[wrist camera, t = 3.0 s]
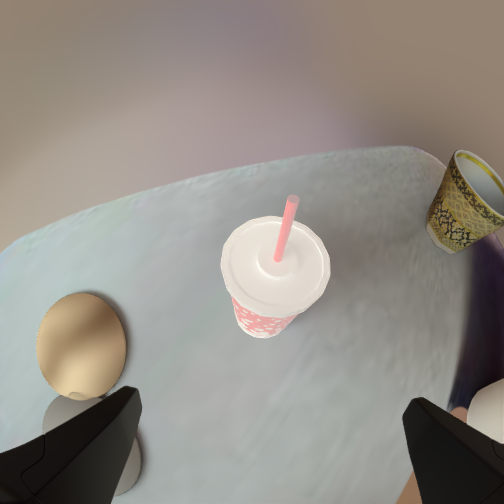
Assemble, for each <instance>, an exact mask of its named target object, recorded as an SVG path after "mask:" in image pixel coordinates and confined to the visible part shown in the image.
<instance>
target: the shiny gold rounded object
mask: <svg viewBox="0 0 504 504" xmlns="http://www.w3.org/2000/svg"><path fill="white" fill-rule="evenodd" d="M37 358H38V363H39V366H40V369H41V371H42V374H43V376H44V377H45V379H46V381H47V382H48V383H49V385H50V386H51V387H52V388H53V389H54V390H55V391H57V392H58V393H59V394H61V395H62V396H64V397H69V398H70V399H71V398H72V399H73V400H81V401H83V400H86V399H87V400H88V399H89V398H90V399H92V398H93V397H94V398H95V397H101V396H103V395H104V394H106V393H107V392H108V391H109V390H110V389H111V388H112V387H113V386H114V385H115V384H116V382H117V381H118V379H119V377H120V375H121V373H122V370H123V367H124V364H125V358H126V338H125V333H124V329H123V326H122V324H121V321H120V319H119V318H118V316H117V314H116V313H115V312H114V310H113V309H112V308H111V307H110V306H109V305H108V304H107V303H106V302H104V301H103V300H102V299H100V298H98V297H96V296H94V295H91V294H86V293H76V294H71V295H68V296H66V297H63V298H62V299H60V300H59V301H57V302H56V303H55V304H54V305H53V306H52V307H51V308H50V309H49V310H48V312H47V313H46V315H45V316H44V318H43V320H42V322H41V325H40V328H39V331H38V336H37ZM72 392H73V393H72ZM74 392H75V393H76V394H75V393H74ZM82 392H83V393H82ZM70 393H71V395H70ZM80 394H82V395H81V396H82V397H81V396H80ZM87 394H88V395H87ZM75 396H76V397H75ZM80 397H81V398H80ZM84 397H86V398H84ZM83 398H84V399H83Z"/></svg>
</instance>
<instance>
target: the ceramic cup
mask: <svg viewBox="0 0 504 504" xmlns="http://www.w3.org/2000/svg"><path fill="white" fill-rule="evenodd" d="M503 226H504V182H503V181H502V180H501V178H500V177H499V176H498V174H497V173H496V172H495V171H494V170H493V169H492V168H491V167H490V166H489V165H488V164H487V163H486V162H485V161H483V160H482V159H481V158H480V157H478V156H477V155H475V154H473V153H471V152H469V151H466V150H463V149H459V150H456V151H455V152H454V154H453V156H452V158H451V160H450V162H449V165H448V167H447V170H446V172H445V175H444V177H443V180H442V183H441V185H440V187H439V189H438V192H437V194H436V196H435V198H434V200H433V202H432V204H431V206H430V208H429V210H428V213H427V220H426V230H427V232H428V234H429V235H430V237H431V239H432V240H433V242H434V244H435V245H436V246H437V247H439V248H441V249H442V250H444V251H445V252H447V253H449V254H455V253H457V252H459V251H461V250H463V249H465V248H467V247H468V246H470V245H471V244H473V243H475V242H476V241H478V240H480V239H481V238H483V237H484V236H486V235H488V234H490V233H493V232H495V231H497V230H498V229H500V228H501V227H503Z"/></svg>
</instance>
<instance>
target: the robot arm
mask: <svg viewBox="0 0 504 504" xmlns="http://www.w3.org/2000/svg"><path fill="white" fill-rule="evenodd" d="M141 412H142V403H141V399H140V394H139V391H138V389H137V388H134V387H130V386H124V387H122V388H120V389H119V390H117V391H116V392H114V393H112V394H111V395H109V396H108V397H106V398H104V399H103V400H101V401H99V402H98V403H96V404H94V405H93V406H91V407H90V408H88V409H86V410H84V411H83V412H81V413H79V414H78V415H76V416H74V417H73V418H71V419H69V420H67V421H66V422H64V423H62V424H61V425H59V426H57V427H55V428H53V429H52V430H50V431H48V432H46V433H45V434H43V435H41V436H39V437H37V438H35V439H33V440H31V441H29V442H27V443H25V444H23V445H21V446H18V447H16V448H13V449H11V450H8V451H5V452H2V453H0V504H111V502H112V499H113V496H114V494H115V491H116V488H117V486H118V483H119V481H120V478H121V475H122V473H123V470H124V468H125V465H126V463H127V460H128V458H129V455H130V452H131V450H132V446H133V443H134V439H135V435H136V431H137V427H138V423H139V420H140V416H141ZM402 420H403V425H404V430H405V435H406V440H407V446H408V451H409V455H410V459H411V462H412V466H413V469H414V473H415V476H416V480H417V484H418V487H419V491H420V496H421V500H422V504H504V445H503V444H501V443H499V442H497V441H495V440H494V439H491V438H490V437H488V436H487V435H485V434H483V433H481V432H480V431H478V430H476V429H475V428H473V427H471V426H470V425H468V424H466V423H464V422H463V421H461V420H459V419H458V418H456V417H454V416H453V415H451V414H450V413H448V412H446V411H445V410H443V409H441V408H440V407H438V406H436V405H435V404H433V403H432V402H430V401H428V400H427V399H425V398H423V397H419V398H414V399H412V400H411V401H410V403H409V405H408V407H407V408H406V410H405V412H404V414H403V417H402Z"/></svg>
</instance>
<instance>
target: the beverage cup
mask: <svg viewBox="0 0 504 504" xmlns="http://www.w3.org/2000/svg"><path fill="white" fill-rule="evenodd" d="M298 203H299V197H298V196H296V195H289V196H288V198H287V203H286V207H285V211H284V215H283V217H276V216H266V217H261V218H257V219H252V220H249V221H248V222H246V223H245V224H243V225H241V226H240V227H238V228H237V229H235V230H234V231H233V233H232V234H231V236H230V237H229V238H228V240H227V241H226V243H225V244H224V247H223V252H222V258H221V269H222V274H223V277H224V281H225V284H226V287H227V290H228V291H229V293H230V294H231V297H232V301H233V306H234V311H235V315H236V318H237V321H238V324H239V325H240V327H241V328H242V329H243V330H244V331H245V332H246V333H248V334H250V335H252V336H254V337H258V338H268V337H272V336H275V335H277V334H278V333H280V332H281V331H282V330H283V329H284V328H285V327H286V326H287V325H288V324H289V323H290V322H291V321H292V320H293V319H294V318H295V317H296V316H297V315H298V314H299V313H302V312H304V311H305V310H306V309H307V308H309V307H310V306H311V305H312V304H313V303H314V302H315V301H316V300H318V299H319V297H320V296H322V294H323V292H324V290H325V288H326V285H327V283H328V280H329V278H330V257H329V255H328V252H327V250H326V248H325V246H324V244H323V242H322V240H321V239H320V238H319V237H318V236H317V235H316V234H315V233H314V232H313V231H312V230H310V229H309V228H308V227H307V226H305V225H303V224H301V223H299V222H297V221H294V217H295V214H296V210H297V207H298Z"/></svg>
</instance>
